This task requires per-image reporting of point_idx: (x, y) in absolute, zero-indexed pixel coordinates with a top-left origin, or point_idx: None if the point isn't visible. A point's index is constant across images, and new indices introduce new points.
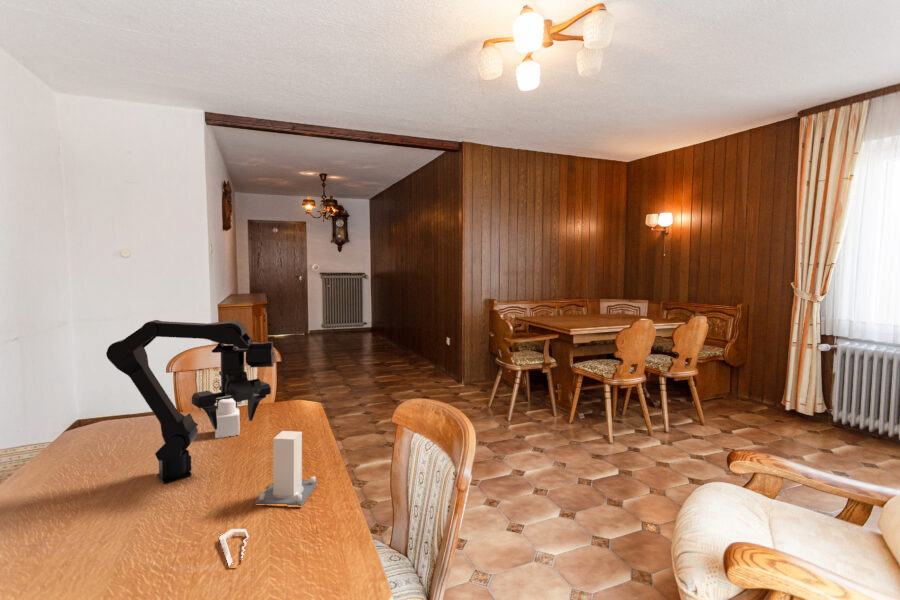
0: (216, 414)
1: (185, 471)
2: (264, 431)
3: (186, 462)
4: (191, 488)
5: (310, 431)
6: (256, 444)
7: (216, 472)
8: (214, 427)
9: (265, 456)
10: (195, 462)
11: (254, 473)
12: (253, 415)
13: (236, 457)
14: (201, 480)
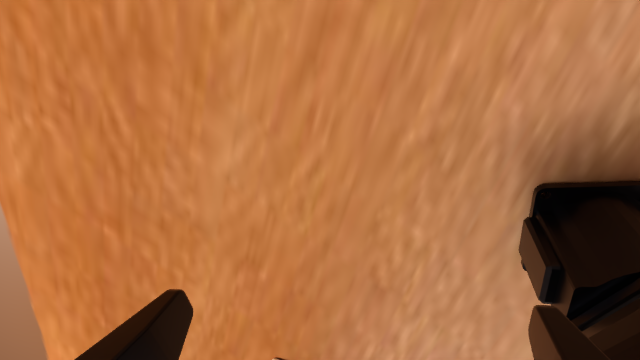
0: None
1: (561, 213)
2: (198, 337)
3: (569, 245)
4: (614, 54)
5: (57, 258)
6: (236, 278)
7: (437, 153)
8: (571, 333)
9: (222, 171)
10: (460, 281)
11: (298, 27)
12: (122, 327)
13: (322, 230)
14: (527, 115)
